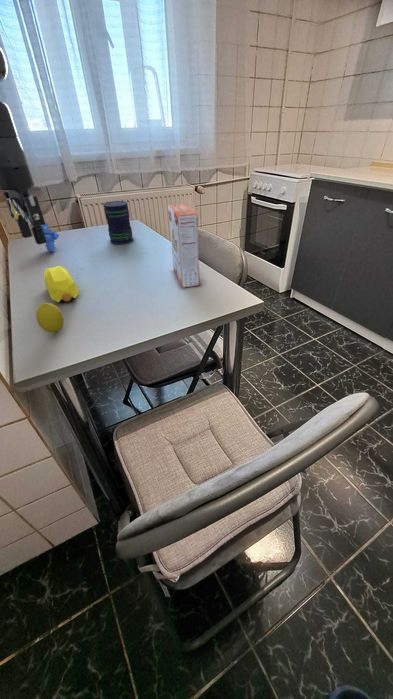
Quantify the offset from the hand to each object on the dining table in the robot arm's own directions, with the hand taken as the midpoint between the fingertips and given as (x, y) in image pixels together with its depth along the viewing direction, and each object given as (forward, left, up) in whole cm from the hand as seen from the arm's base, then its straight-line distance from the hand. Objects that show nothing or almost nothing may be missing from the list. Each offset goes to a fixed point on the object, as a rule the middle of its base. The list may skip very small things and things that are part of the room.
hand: (34, 240), depth 73 cm
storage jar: (+46, +34, -18) cm, 60 cm away
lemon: (-7, -15, -18) cm, 24 cm away
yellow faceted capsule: (+4, +5, -18) cm, 19 cm away
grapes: (+20, +44, -18) cm, 51 cm away
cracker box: (+36, -16, -18) cm, 43 cm away
